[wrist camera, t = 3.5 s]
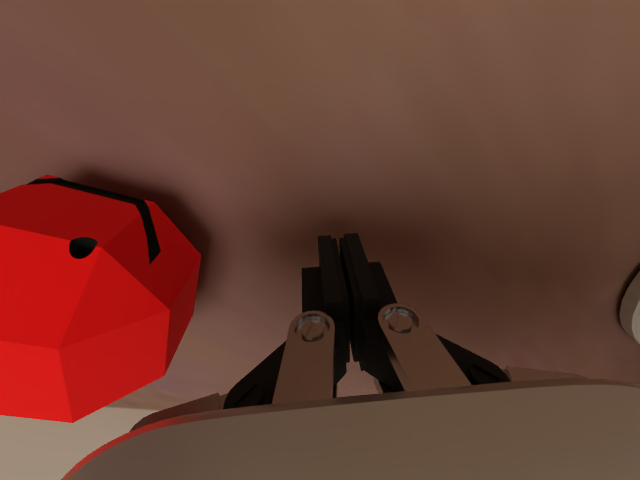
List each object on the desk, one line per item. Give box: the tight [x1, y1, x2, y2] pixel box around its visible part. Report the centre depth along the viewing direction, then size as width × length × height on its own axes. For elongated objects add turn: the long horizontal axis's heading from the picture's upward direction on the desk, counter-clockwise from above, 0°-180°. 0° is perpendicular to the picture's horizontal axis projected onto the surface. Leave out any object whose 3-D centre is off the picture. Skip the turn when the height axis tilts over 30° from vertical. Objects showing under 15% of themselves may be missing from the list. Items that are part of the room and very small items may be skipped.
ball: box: [0, 175, 201, 423], centre depth 12 cm, size 8×8×8 cm
